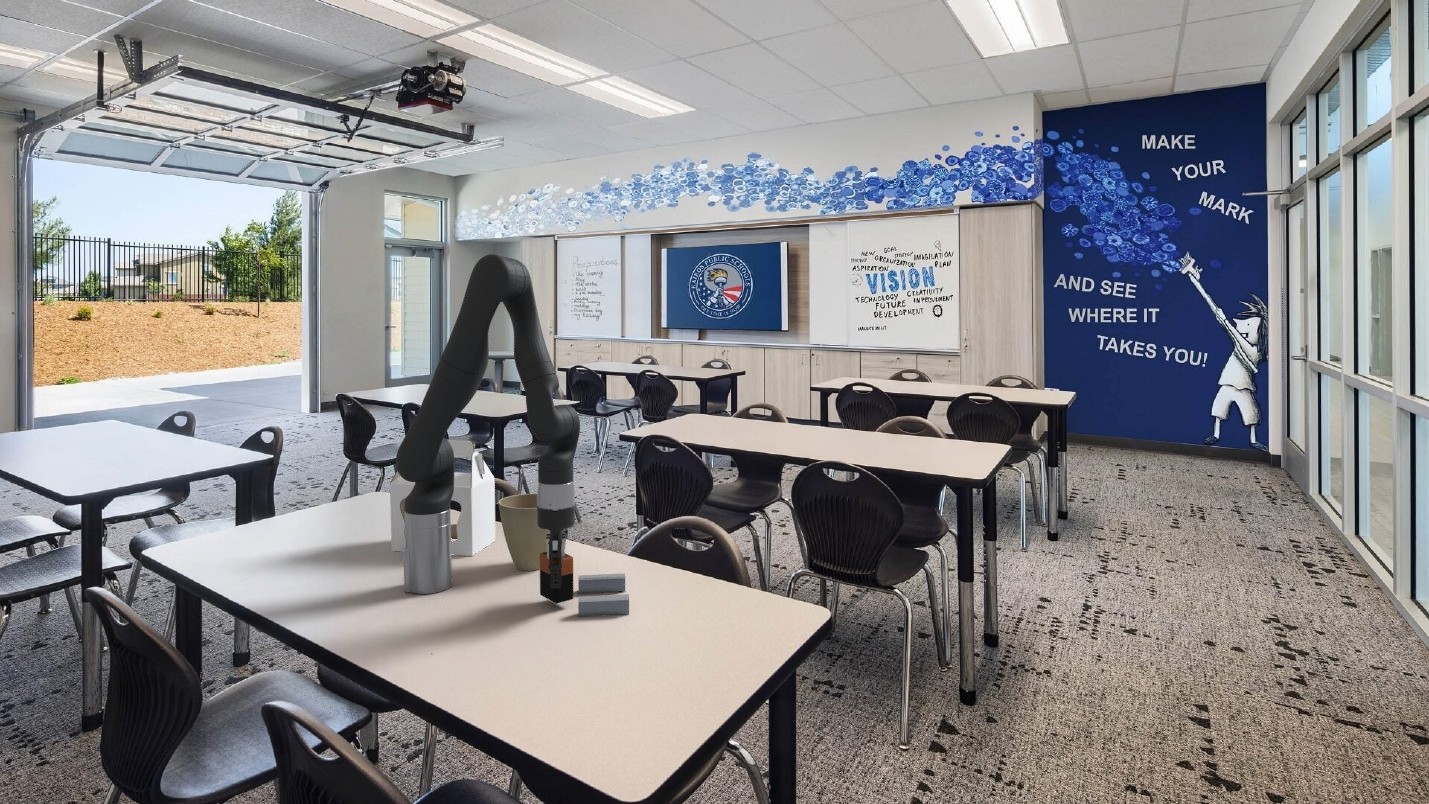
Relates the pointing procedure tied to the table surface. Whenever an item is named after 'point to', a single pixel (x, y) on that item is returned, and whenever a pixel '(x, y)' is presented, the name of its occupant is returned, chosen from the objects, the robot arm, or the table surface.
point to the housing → (602, 603)
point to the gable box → (468, 491)
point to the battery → (567, 579)
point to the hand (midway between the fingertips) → (556, 580)
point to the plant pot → (523, 530)
